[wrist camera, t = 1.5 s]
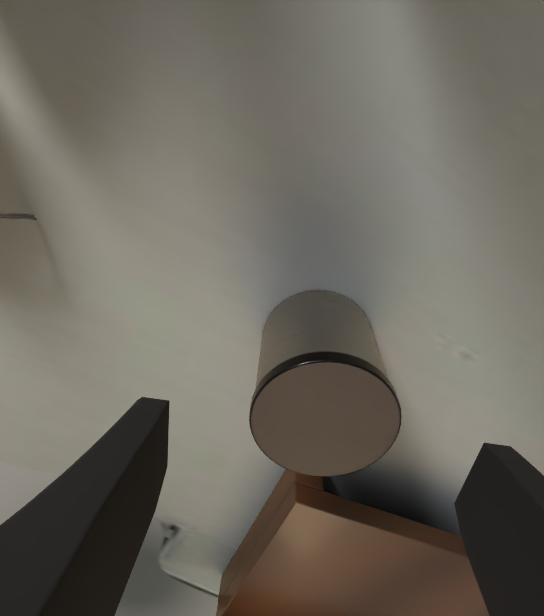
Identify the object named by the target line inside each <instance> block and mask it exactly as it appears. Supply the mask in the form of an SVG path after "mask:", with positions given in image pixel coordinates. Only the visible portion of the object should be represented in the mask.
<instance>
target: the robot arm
mask: <svg viewBox="0 0 544 616" xmlns="http://www.w3.org/2000/svg"><path fill="white" fill-rule="evenodd" d="M168 426H169V401H168V400H160V399H153V398H145V397H142V398H140V399H139V400H137V401H136V402H135V403H134V405H133V406H132V407H131V408H130V409H129V410H128V411H127V412H126V413H125V414H124V415H123V416H122V417H121V418H120V419H119V420H118V421H117V422H116V423H115V424H114V425H113V426H112V427H111V428H110V429H109V430H108V431H107V432H106V433H105V434H104V435H103V436H102V437H101V438H100V439H99V440H98V441H97V442H96V443H95V444H94V445H93V446H92V447H91V448H90V449H89V450H88V451H87V452H86V453H85V454H83V455H82V456H81V457H80V458H79V459H78V460H77V461H76V462H75V463H74V464H73V465H72V466H71V467H70V468H68V469H67V470H66V471H65V472H64V473H63V474H62V475H60V476H59V477H58V478H57V479H56V480H55V481H54V482H52V483H51V484H50V485H49V486H48V487H47V488H45V489H44V490H43V491H42V492H41V493H39V494H38V495H37V496H36V497H35V498H34V499H33V500H31V501H30V502H29V503H28V504H26V506H24V507H23V508H21V509H20V510H19V511H18V512H16V513H15V514H14V515H13V516H11V517H10V518H9V519H8V520H6V521H5V522H4V523H3V524H1V525H0V616H114V615H115V613H116V610H117V607H118V604H119V602H120V599H121V597H122V595H123V592H124V590H125V587H126V584H127V582H128V579H129V577H130V574H131V572H132V569H133V566H134V564H135V561H136V558H137V556H138V554H139V551H140V548H141V546H142V543H143V541H144V538H145V536H146V533H147V530H148V528H149V525H150V523H151V520H152V517H153V515H154V512H155V509H156V506H157V502H158V499H159V495H160V491H161V488H162V484H163V480H164V476H165V473H166V469H167V459H168ZM454 504H455V509H456V513H457V518H458V522H459V527H460V531H461V535H462V539H463V543H464V547H465V550H466V553H467V556H468V559H469V562H470V564H471V567H472V570H473V573H474V575H475V578H476V581H477V584H478V586H479V589H480V592H481V594H482V597H483V600H484V602H485V605H486V608H487V610H488V613H489V616H544V476H543V475H542V474H541V473H540V472H539V471H538V470H537V469H536V468H535V467H533V466H532V465H531V464H530V463H529V462H528V461H527V460H526V459H525V458H523V457H522V456H521V455H520V454H519V453H518V452H516V451H515V450H514V449H513V448H512V447H510V446H504V445H496V444H489V443H484V444H483V446H482V448H481V450H480V452H479V454H478V456H477V458H476V460H475V462H474V464H473V466H472V468H471V470H470V472H469V475H468V477H467V479H466V481H465V483H464V485H463V487H462V489H461V491H460V493H459V495H458V497H457V499H456V501H455V503H454Z"/></svg>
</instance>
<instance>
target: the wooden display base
mask: <svg viewBox="0 0 544 616" xmlns="http://www.w3.org/2000/svg"><path fill="white" fill-rule="evenodd" d="M323 490H324V489H323V477H320V476H310V475H304V474H300V473H297V472H293V471H291V470H288V469H286V471H285V472H284V474H283V475H282V477H281V479H280V480H279V482H278V484H277V485H276V487H275V489H274V490H273V492H272V494H271V495H270V497H269V499H268V500H267V502H266V504H265V505H264V507H263V508H262V510H261V512H260V513H259V515H258V517H257V518H256V520H255V522H254V523H253V525H252V527H251V528H250V530H249V532H248V533H247V535H246V537H245V538H244V540H243V541H242V543H241V545H240V546H239V548H238V550H237V551H236V553H235V555H234V556H233V558H232V560H231V561H230V563H229V565H228V566H227V568H226V570H225V571H224V573H223V574H222V578H221V585H220V592H219V599H218V606H217V613H216V616H489V613H488V610H487V608H486V605H485V602H484V600H483V597H482V594H481V592H480V589H479V586H478V584H477V581H476V578H475V575H474V573H473V570H472V567H471V564H470V562H469V559H468V556H467V553H466V550H465V547H464V543H463V539H462V537H461V536H458V535H455V534H452V533H449V532H446V531H443V530H440V529H437V528H434V527H431V526H428V525H425V524H422V523H419V522H416V521H413V520H410V519H406V518H403V517H400V516H397V515H394V514H391V513H388V512H385V511H382V510H379V509H376V508H373V507H370V506H367V505H364V504H361V503H358V502H355V501H352V500H348V499H345V498H342V497H339V496H336V495H333V494H330V493H327V492H324V491H323Z"/></svg>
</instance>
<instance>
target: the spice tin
mask: <svg viewBox="0 0 544 616" xmlns="http://www.w3.org/2000/svg"><path fill="white" fill-rule="evenodd" d="M249 421H250V428H251V432H252V435H253V437H254V439H255V441H256V443H257V445H258V446H259V448H260V449H261V450H262V451H263V453H264V454H265V455H266V456H267V457H269V458H270V459H271V460H272V461H274V462H275V463H277V464H278V465H280V466H282V467H284V468H286V469H288V470H291V471H293V472H297V473H300V474H304V475H310V476H320V477H324V476H339V475H344V474H349V473H352V472H355V471H358V470H360V469H363V468H365V467H367V466H369V465H370V464H372V463H374V462H375V461H377V460H378V459H379V458H381V457H382V456H383V455H384V454H385V453H386V452H387V451H388V450H389V448H390V447H391V446H392V444H393V443H394V441H395V440H396V437H397V435H398V433H399V429H400V425H401V408H400V404H399V401H398V398H397V395H396V392H395V390H394V388H393V385H392V384H391V382H390V381H389V379H388V377H387V374H386V371H385V368H384V365H383V362H382V359H381V356H380V353H379V350H378V347H377V344H376V341H375V338H374V334H373V331H372V328H371V325H370V322H369V320H368V318H367V316H366V314H365V313H364V311H363V310H362V309H361V308H360V307H359V306H358V305H357V304H356V303H355V302H354V301H352V300H350V299H349V298H347V297H345V296H343V295H341V294H338V293H335V292H330V291H322V290H314V291H306V292H302V293H298V294H296V295H293V296H291V297H289V298H287V299H286V300H284V301H283V302H281V303H280V304H279V305H277V306H276V307H275V308H274V309H273V311H272V312H271V313H270V315H269V316H268V318H267V320H266V322H265V325H264V328H263V333H262V341H261V349H260V357H259V365H258V374H257V382H256V389H255V392H254V394H253V397H252V401H251V407H250V418H249Z"/></svg>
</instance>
